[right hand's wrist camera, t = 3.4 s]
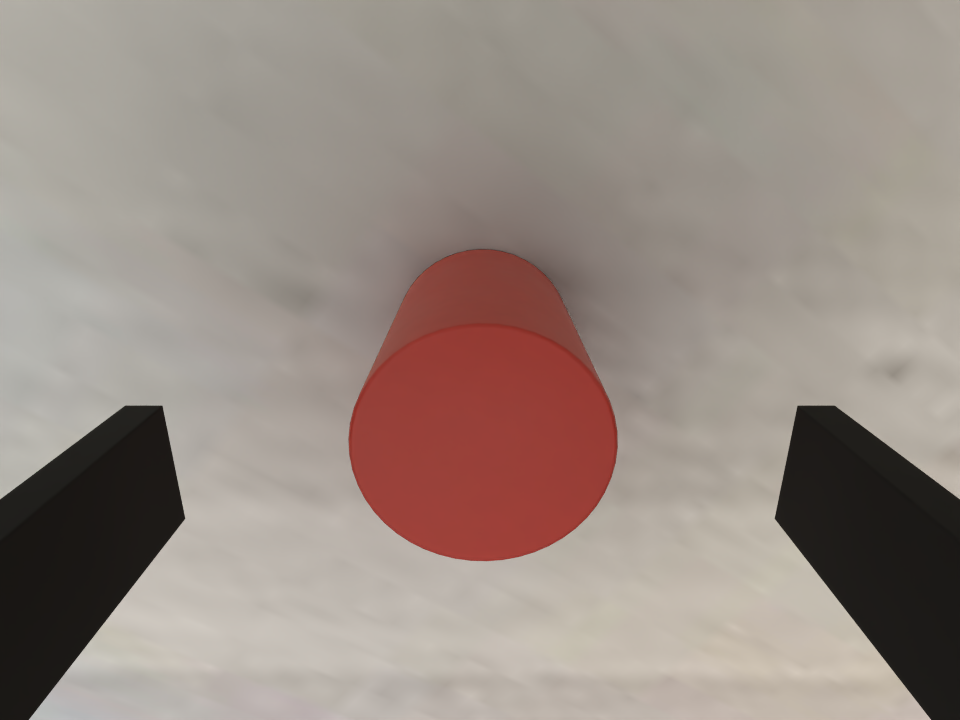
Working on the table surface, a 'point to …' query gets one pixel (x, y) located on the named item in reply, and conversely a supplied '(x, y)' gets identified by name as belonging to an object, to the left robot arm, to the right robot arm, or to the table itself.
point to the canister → (483, 414)
